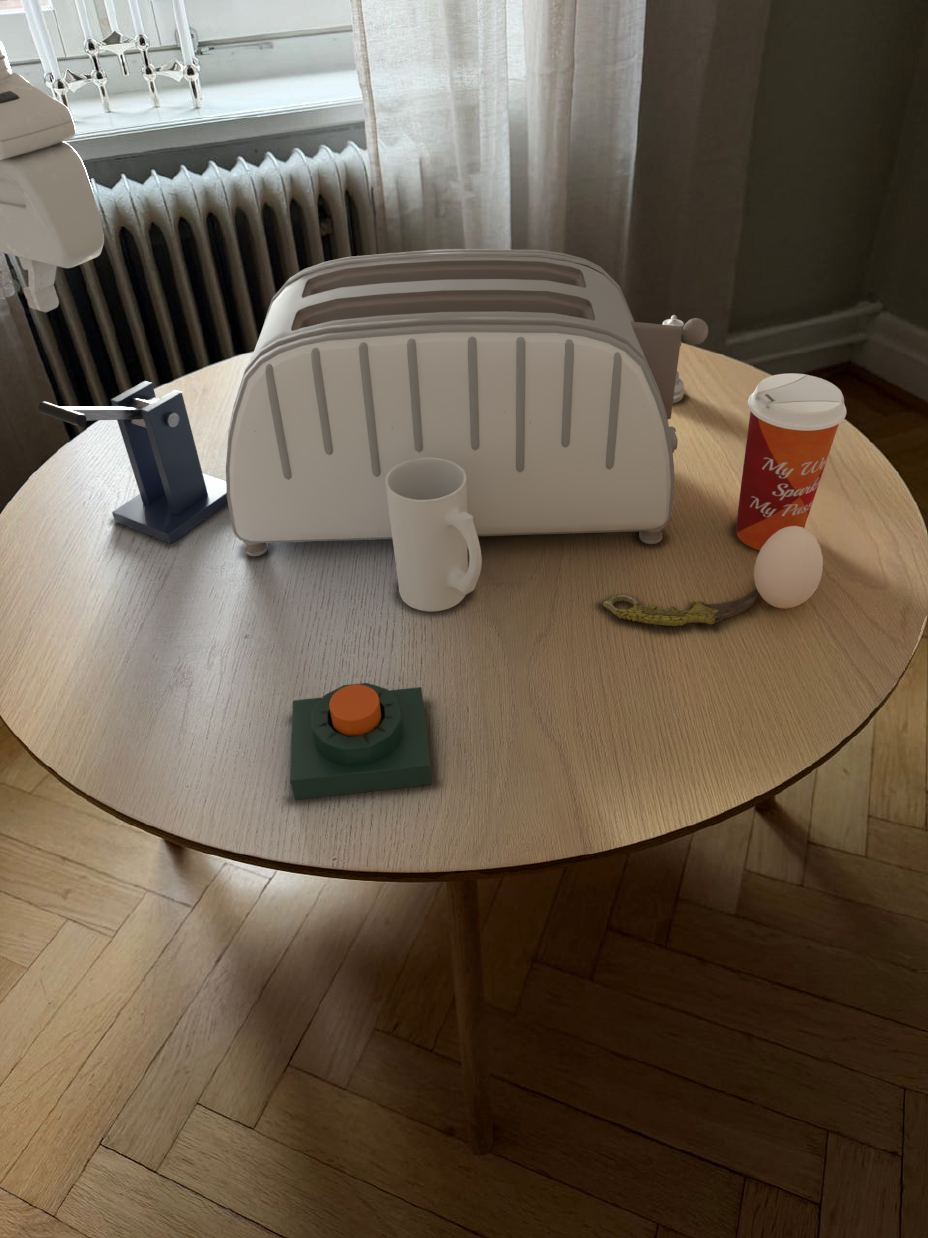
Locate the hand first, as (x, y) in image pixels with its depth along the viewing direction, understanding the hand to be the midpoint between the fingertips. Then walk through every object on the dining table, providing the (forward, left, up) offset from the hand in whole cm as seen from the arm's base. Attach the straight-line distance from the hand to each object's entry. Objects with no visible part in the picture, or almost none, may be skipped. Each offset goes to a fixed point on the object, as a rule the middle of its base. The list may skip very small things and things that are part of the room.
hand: (23, 302), depth 74 cm
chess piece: (+61, +22, -25) cm, 70 cm away
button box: (+23, -29, -25) cm, 45 cm away
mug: (+31, -12, -25) cm, 42 cm away
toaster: (+35, +4, -25) cm, 44 cm away
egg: (+61, -17, -25) cm, 68 cm away
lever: (+3, +4, -13) cm, 14 cm away
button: (+23, -29, -22) cm, 43 cm away
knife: (+52, -17, -25) cm, 61 cm away
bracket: (+5, +7, -25) cm, 27 cm away
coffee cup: (+63, -7, -25) cm, 69 cm away
